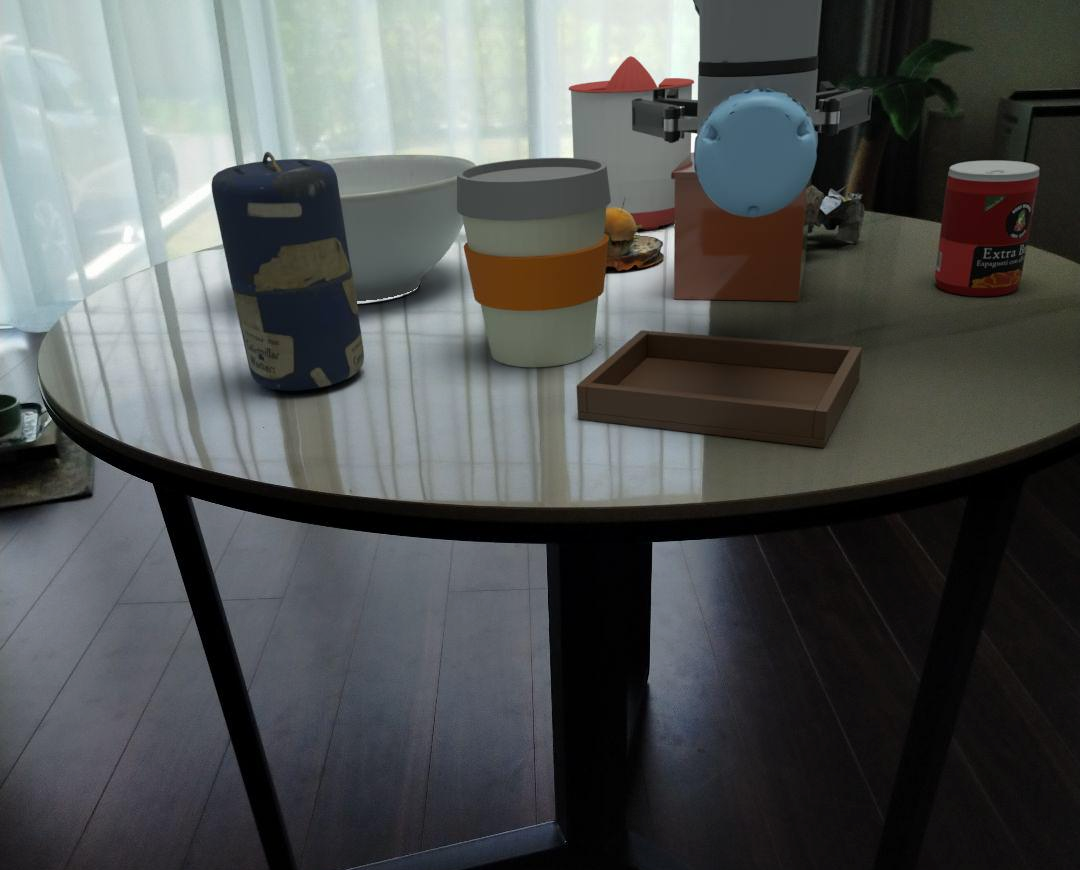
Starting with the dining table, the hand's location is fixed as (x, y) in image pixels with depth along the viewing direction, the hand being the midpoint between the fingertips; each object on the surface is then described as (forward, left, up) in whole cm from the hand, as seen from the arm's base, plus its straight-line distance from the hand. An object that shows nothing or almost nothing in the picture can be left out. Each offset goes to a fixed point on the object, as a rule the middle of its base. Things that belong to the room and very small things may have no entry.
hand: (747, 100), depth 92 cm
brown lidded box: (0, -1, -17) cm, 17 cm away
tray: (-7, +31, -18) cm, 36 cm away
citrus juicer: (+22, -29, -18) cm, 41 cm away
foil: (-3, -17, -18) cm, 25 cm away
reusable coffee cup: (+11, +24, -18) cm, 32 cm away
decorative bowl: (+39, +10, -18) cm, 44 cm away
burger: (+17, -8, -18) cm, 26 cm away
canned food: (-22, -5, -18) cm, 29 cm away
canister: (+27, +36, -18) cm, 48 cm away
